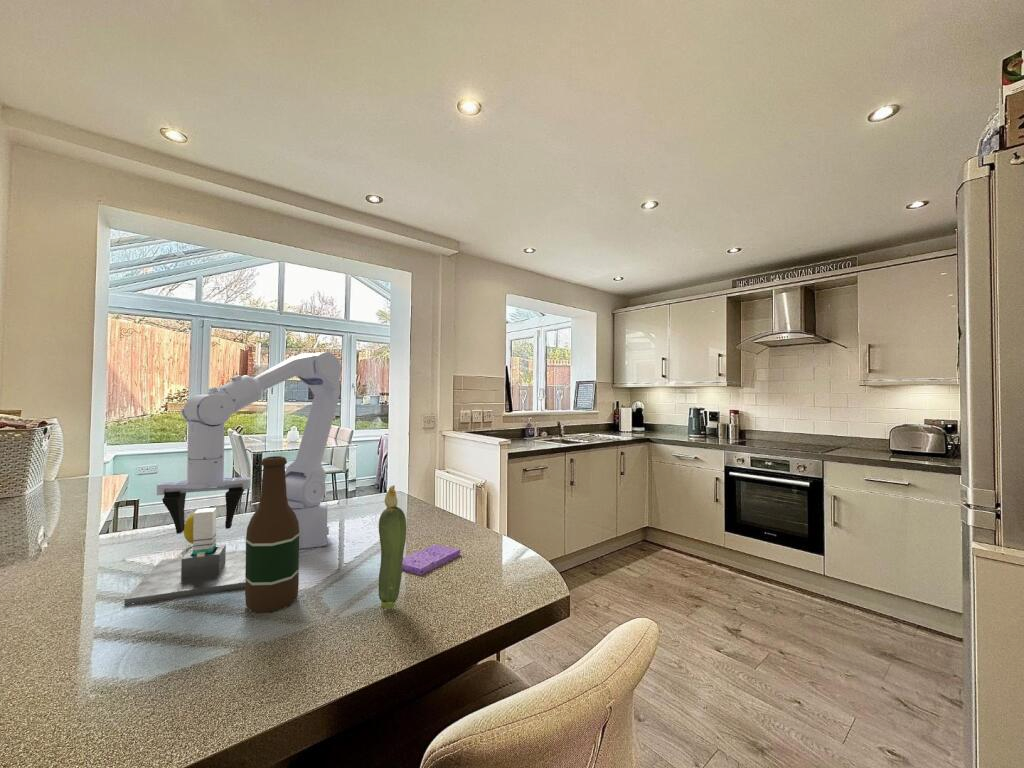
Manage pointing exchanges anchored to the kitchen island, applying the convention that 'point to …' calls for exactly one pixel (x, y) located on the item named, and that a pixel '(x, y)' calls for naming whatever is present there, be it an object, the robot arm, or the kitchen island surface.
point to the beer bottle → (272, 545)
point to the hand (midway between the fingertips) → (204, 529)
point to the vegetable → (391, 550)
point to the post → (204, 531)
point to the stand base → (192, 576)
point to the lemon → (189, 529)
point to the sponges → (428, 559)
